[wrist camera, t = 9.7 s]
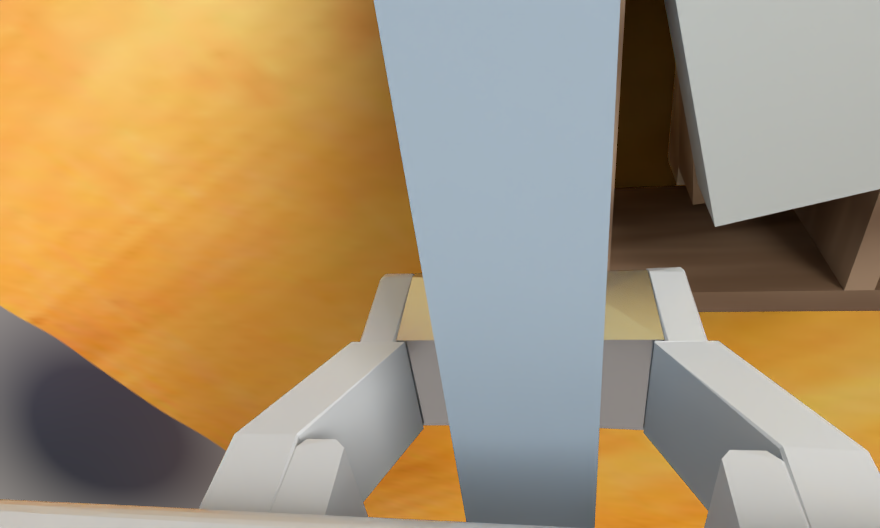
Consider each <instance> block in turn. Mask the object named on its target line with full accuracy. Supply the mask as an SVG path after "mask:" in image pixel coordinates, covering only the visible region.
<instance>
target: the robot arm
mask: <svg viewBox="0 0 880 528" xmlns="http://www.w3.org/2000/svg"><path fill="white" fill-rule="evenodd" d="M423 425H449V421H448V415H447V409H446V404H445V398H444V393H443V387H442V381H441V376H440V370H439V364H438V359H437V353H436V348H435V342H434V336H433V331H432V325H431V320H430V314H429V308H428V303H427V297H426V292H425V286H424V280H423V275H422V273H415V274H385V275H384V276H383V277H382V278H381V279H380V282H379V285H378V288H377V291H376V294H375V298H374V301H373V304H372V307H371V310H370V313H369V316H368V319H367V322H366V325H365V328H364V331H363V334H362V337H361V340H360V342H351V343H349V344H348V345H347V346H345V347H344V348H343V349H342V350H340V351H339V352H338V353H337V354H335V355H334V356H333V357H332V358H330V359H329V360H328V361H326V362H325V363H324V364H323V365H321V366H320V367H319V368H318V369H316V370H315V371H314V372H313V373H311V374H310V375H309V376H307V377H306V378H305V379H304V380H302V381H301V382H300V383H299V384H297V385H296V386H295V387H294V388H292V389H291V390H290V391H288V392H287V393H286V394H285V395H283V396H282V397H281V398H280V399H278V400H277V401H276V402H275V403H273V404H272V405H271V406H269V407H268V408H267V409H266V410H264V411H263V412H262V413H261V414H259V415H258V416H257V417H255V418H254V419H253V420H252V421H250V422H249V423H248V424H247V425H245V426H244V427H243V428H242V429H240V430H239V431H238V432H236V433H235V434H234V436H233V438H232V440H231V442H230V444H229V447H228V449H227V451H226V453H225V455H224V457H223V459H222V461H221V463H220V465H219V468H218V470H217V472H216V474H215V476H214V478H213V480H212V482H211V484H210V486H209V488H208V491H207V492H206V494H205V497H204V499H203V501H202V503H201V505H200V507H199V509H190V508H169V507H149V506H148V507H147V506H127V505H108V504H88V503H67V502H47V501H26V500H5V499H0V528H574V527H554V526H534V525H514V524H494V523H474V522H454V521H433V520H413V519H393V518H373V517H368V515H367V512H366V509H365V507H364V504H363V502H364V501H365V499H366V498H367V497H368V496H369V494H370V493H371V492H372V491H373V490H374V488H375V487H376V486H377V485H378V483H379V482H380V481H381V480H382V479H383V477H384V476H385V475H386V474H387V472H388V471H389V470H390V469H391V468H392V466H393V465H394V464H395V463H396V461H397V460H398V459H399V458H400V457H401V455H402V454H403V453H404V452H405V450H406V449H407V448H408V447H409V446H410V444H411V443H412V442H413V441H414V439H415V438H416V437H417V436H418V435H419V433H420V432H421V431H422V430H423ZM599 428H611V429H633V430H644V434H645V435H646V436H647V437H648V439H649V440H650V441H651V442H652V443H653V445H654V446H655V447H656V448H657V449H658V451H659V452H660V453H661V454H662V455H663V457H664V458H665V459H666V460H667V462H668V463H669V464H670V465H671V466H672V468H673V469H674V470H675V471H676V472H677V474H678V475H679V476H680V477H681V478H682V480H683V481H684V482H685V483H686V484H687V486H688V487H689V488H690V489H691V491H692V492H693V493H694V494H695V495H696V497H697V498H698V499H699V500H700V501H701V503H702V504H703V505H704V506H705V507H706V509H707V510H708V515H707V519H706V523H705V527H704V528H880V473H879V471H878V469H877V467H876V465H875V463H874V461H873V459H872V457H871V456H870V454H869V452H868V451H867V450H866V449H864V448H863V447H862V446H860V445H859V444H858V443H856V442H855V441H854V440H852V439H851V438H850V437H848V436H847V435H845V434H844V433H843V432H841V431H840V430H839V429H837V428H836V427H835V426H833V425H832V424H831V423H829V422H828V421H826V420H825V419H824V418H822V417H821V416H820V415H818V414H817V413H816V412H814V411H813V410H811V409H810V408H809V407H807V406H806V405H805V404H803V403H802V402H801V401H799V400H798V399H797V398H795V397H794V396H792V395H791V394H790V393H788V392H787V391H786V390H784V389H783V388H782V387H780V386H779V385H778V384H776V383H775V382H773V381H772V380H771V379H769V378H768V377H767V376H765V375H764V374H763V373H761V372H760V371H759V370H757V369H756V368H754V367H753V366H752V365H750V364H749V363H748V362H746V361H745V360H744V359H742V358H741V357H740V356H738V355H737V354H735V353H734V352H733V351H731V350H730V349H729V348H727V347H726V346H725V345H723V344H722V343H721V342H719V341H708V340H707V337H706V334H705V331H704V328H703V325H702V322H701V319H700V316H699V313H698V310H697V307H696V304H695V301H694V298H693V295H692V292H691V289H690V286H689V283H688V280H687V276H686V273H685V271H684V270H683V269H682V268H681V267H669V268H648V269H646V270H615V271H607V284H606V304H605V324H604V344H603V365H602V385H601V405H600V425H599Z"/></svg>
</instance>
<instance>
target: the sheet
mask: <svg viewBox="0 0 880 528" xmlns="http://www.w3.org/2000/svg"><path fill="white" fill-rule="evenodd" d="M374 5H375V11H376V17H377V22H378V28H379V33H380V39H381V45H382V50H383V56H384V62H385V67H386V73H387V78H388V84H389V90H390V95H391V101H392V106H393V112H394V118H395V123H396V129H397V134H398V140H399V146H400V151H401V157H402V163H403V168H404V174H405V179H406V185H407V191H408V196H409V202H410V207H411V213H412V219H413V224H414V230H415V235H416V241H417V247H418V252H419V258H420V263H421V269H422V275H423V280H424V286H425V292H426V297H427V303H428V308H429V314H430V320H431V325H432V331H433V336H434V342H435V348H436V353H437V359H438V364H439V370H440V376H441V381H442V387H443V393H444V398H445V404H446V409H447V415H448V421H449V426H450V432H451V437H452V443H453V449H454V454H455V460H456V465H457V471H458V477H459V482H460V488H461V493H462V499H463V505H464V510H465V516H466V522H474V523H494V524H514V525H534V526H554V527H574V528H594V526H595V506H596V486H597V466H598V445H599V425H600V405H601V385H602V365H603V344H604V324H605V304H606V284H607V263H608V243H609V223H610V203H611V182H612V162H613V142H614V122H615V101H616V81H617V61H618V41H619V20H620V0H374Z"/></svg>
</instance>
